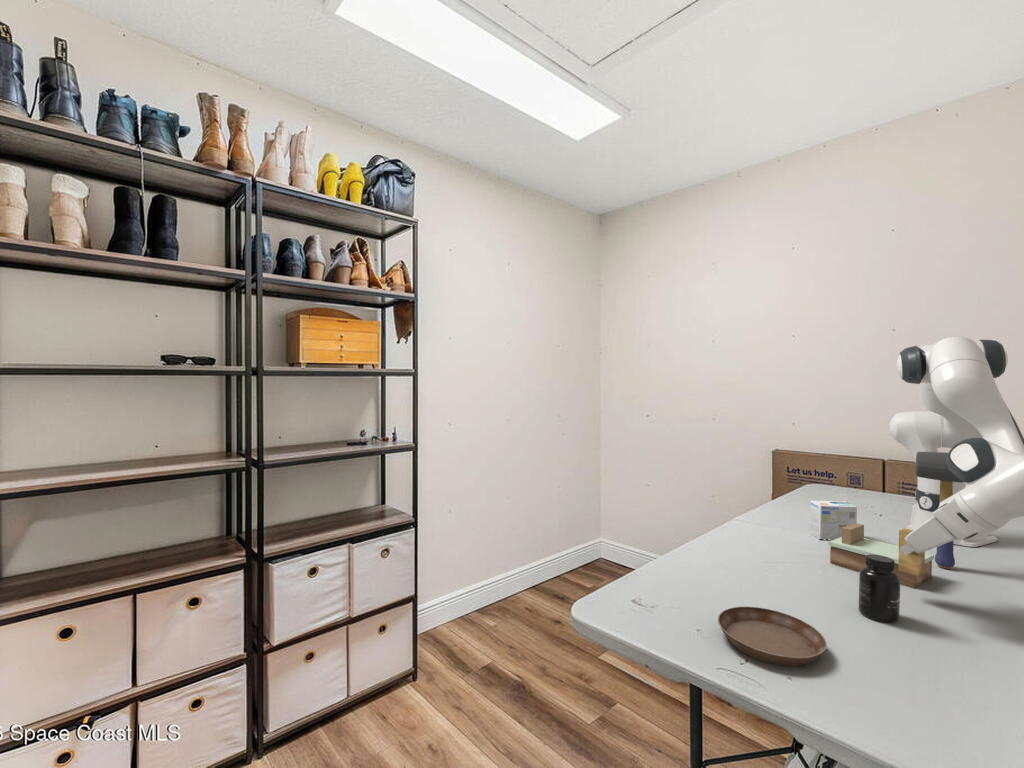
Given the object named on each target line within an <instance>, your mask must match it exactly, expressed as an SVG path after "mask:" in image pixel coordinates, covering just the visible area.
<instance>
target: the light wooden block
mask: <svg viewBox="0 0 1024 768" xmlns="http://www.w3.org/2000/svg"><path fill="white" fill-rule="evenodd" d="M912 531H913V529H908V528H907V527H903V528H902V529H900V530H898V546H899V564H898V570H899V571H902V572H906V573H910V574H913V575H917V576H919V575H921V574H923V573H924V572H925V553H926V551H925V552H922V553H917V552H915V551H913V552H912V553H910V554H908V555H905V554H904V553H903V552H902V551H901V550H900V547H902V546H904V545H905V544H907V542H906V541H905V537H906V536H907V535H908V534H909V533H911V532H912Z"/></svg>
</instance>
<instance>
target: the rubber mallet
mask: <svg viewBox="0 0 1024 768" xmlns="http://www.w3.org/2000/svg"><path fill="white" fill-rule="evenodd" d="M947 455H948V452H939V451H938V452H917V455H916V463H915V475H916V477H917V476H918V477H922V478H927V479H934V480H940V502H942V501H944V500H945V499H947V498H949V497H950V496H952V495H953V482H961V483H964V482H963V481H962V480H960V479H959V478H958V477H956V476H955V475H954V474H953V473H952V472H951V471H950V470H949V469H948V467H947V462H946V459H947ZM939 504H940V503H939ZM953 542H954V541H951V542H948V543H946V544H943V545H940V546H938V547H936V553H935V555H934V562H935V563H936V565H937V567H940V568H943V569H949V570H950V569H953V567H954V566H955V565H956V559H955V555H954V544H953Z"/></svg>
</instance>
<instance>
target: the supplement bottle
mask: <svg viewBox="0 0 1024 768" xmlns="http://www.w3.org/2000/svg"><path fill="white" fill-rule="evenodd" d="M865 565H866V567H863V568H862V569H861V570H860V572H858V574H859V575H858V577H859V578H858V611H859V613H860V614H862V615H863V616H864V617H866V618H868V619H870V620H872V621H873V620H874V621H877V622H881V623H885V624H887V623H888V624H892V623H893V624H894V623H897V622H899V620H900V615H901V614H900V610H901V608H900V607H901V606H900V605H901V584H900V578H899V576H898V575H897V574H896V573H894V572H893V571H894V570H895V561H894V560H893V559H891V558H889V557H885V556H881V555H874V554H869V555H866V561H865Z"/></svg>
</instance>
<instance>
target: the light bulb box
mask: <svg viewBox="0 0 1024 768" xmlns="http://www.w3.org/2000/svg"><path fill="white" fill-rule="evenodd" d="M857 514H858V506H856V505H854V504H853V503H850V502H847V501H845V500H844V501H843V500H841V501H838V500H837V501H836V500H835V501H834V500H810V517H809V518H810V524H809V526H810V529H809V530H810V533H811V535H812V534H813V535H814V536H813V535H812V536H813V537H815V536H816V537H818V538H819V539H830V540H829V541H832V540H835V539H837V538H840V537H842V528H843V527H846V526H849V525H851V524H854V523H858V522H857V519H858V518H857V517H858V515H857ZM816 537H815V538H816ZM818 538H817V539H818ZM819 539H818V540H819Z"/></svg>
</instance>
